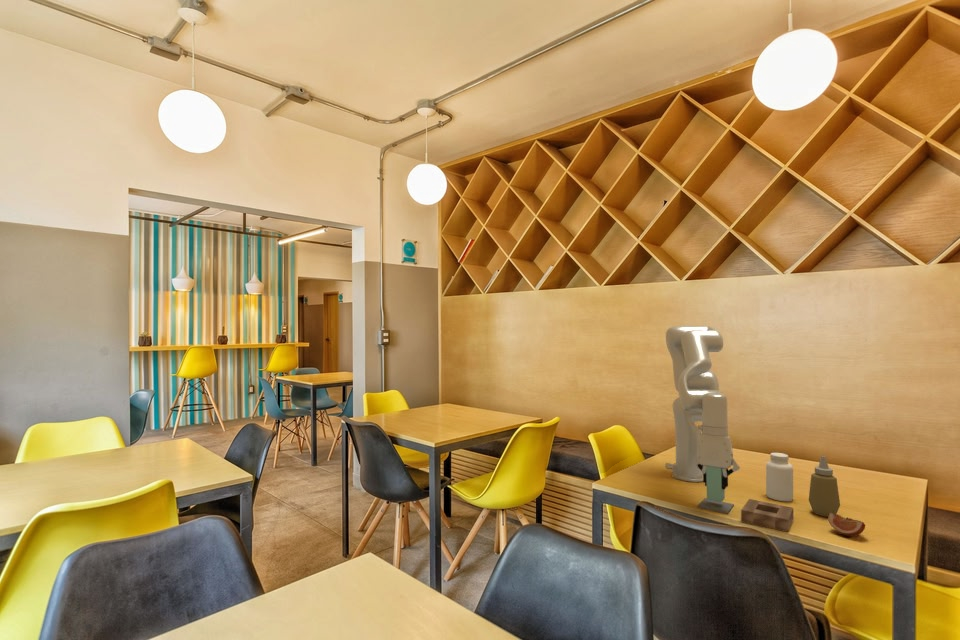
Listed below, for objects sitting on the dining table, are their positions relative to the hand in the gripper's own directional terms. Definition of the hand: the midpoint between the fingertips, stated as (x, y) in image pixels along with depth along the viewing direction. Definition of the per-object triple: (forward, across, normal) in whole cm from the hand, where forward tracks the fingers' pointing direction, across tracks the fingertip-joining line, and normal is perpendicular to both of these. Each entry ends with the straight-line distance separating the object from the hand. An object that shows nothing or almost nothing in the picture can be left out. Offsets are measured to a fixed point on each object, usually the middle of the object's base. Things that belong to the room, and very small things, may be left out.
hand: (715, 486), depth 155 cm
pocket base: (+7, +15, -2) cm, 17 cm away
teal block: (+4, 0, 0) cm, 4 cm away
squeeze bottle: (+7, +28, +15) cm, 32 cm away
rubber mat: (+7, 0, 0) cm, 7 cm away
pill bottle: (+7, +15, +23) cm, 28 cm away
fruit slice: (+7, +34, +1) cm, 35 cm away
